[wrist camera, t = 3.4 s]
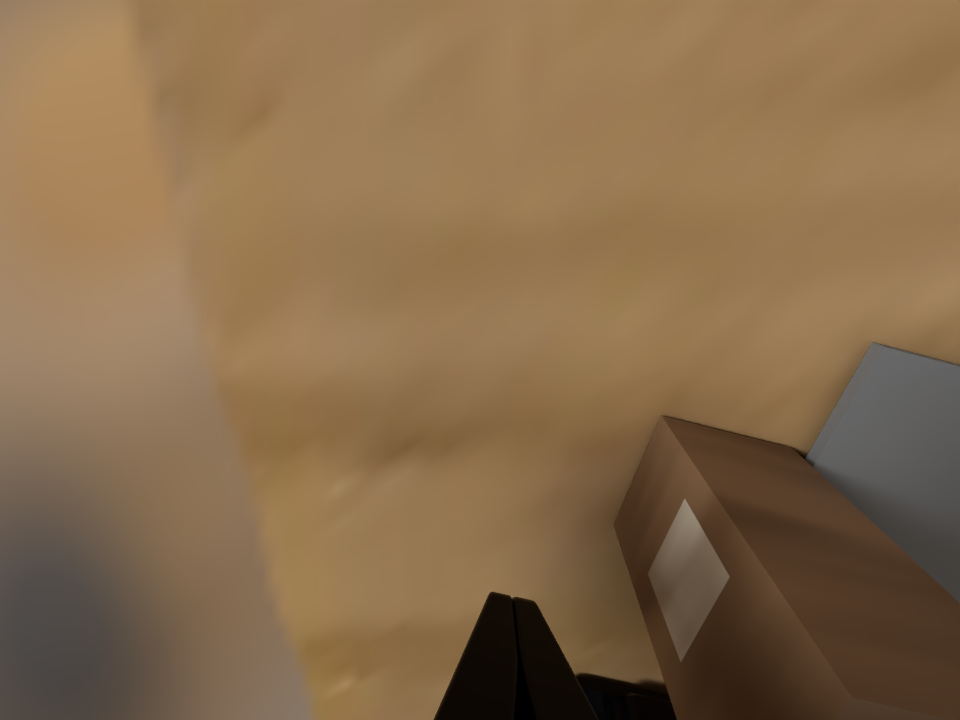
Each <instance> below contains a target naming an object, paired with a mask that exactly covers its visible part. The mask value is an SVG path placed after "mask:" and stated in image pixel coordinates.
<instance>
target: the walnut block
mask: <svg viewBox="0 0 960 720" xmlns="http://www.w3.org/2000/svg"><path fill="white" fill-rule="evenodd" d="M614 528H615V531H616V534H617V537H618V540H619V543H620V546H621V549H622V552H623V555H624V558H625V561H626V564H627V568H628V571H629V574H630V577H631V580H632V583H633V586H634V589H635V592H636V595H637V598H638V601H639V604H640V607H641V611H642V614H643V617H644V620H645V623H646V626H647V629H648V632H649V635H650V638H651V641H652V644H653V647H654V651H655V654H656V657H657V660H658V663H659V666H660V669H661V672H662V675H663V678H664V681H665V684H666V687H667V691H668V694H669V697H670V700H671V703H672V706H673V709H674V712H675V715H676V718H677V720H960V603H959V602H958V601H957V600H956V599H955V598H954V597H953V596H952V595H951V594H950V593H948V592H947V591H946V590H945V589H944V588H943V587H942V586H941V585H940V584H939V583H938V582H937V581H935V580H934V579H933V578H932V577H931V576H930V575H929V574H928V573H927V572H926V571H925V570H924V569H922V568H921V567H920V566H919V565H918V564H917V563H916V562H915V561H914V560H913V559H912V558H911V557H909V556H908V555H907V554H906V553H905V552H904V551H903V550H902V549H901V548H900V547H899V546H898V545H897V544H895V543H894V542H893V541H892V540H891V539H890V538H889V537H888V536H887V535H886V534H885V533H884V532H882V531H881V530H880V529H879V528H878V527H877V526H876V525H875V524H874V523H873V522H872V521H871V520H869V519H868V518H867V517H866V516H865V515H864V514H863V513H862V512H861V511H860V510H859V509H858V508H856V507H855V506H854V505H853V504H852V503H851V502H850V501H849V500H848V499H847V498H846V497H845V496H843V495H842V494H841V493H840V492H839V491H838V490H837V489H836V488H835V487H834V486H833V485H832V484H830V483H829V482H828V481H827V480H826V479H825V478H824V477H823V476H822V475H821V474H820V473H819V472H817V471H816V470H815V469H814V468H813V467H812V466H811V465H810V464H809V463H808V462H807V461H806V460H804V459H803V458H802V457H801V456H800V455H799V454H798V453H797V452H796V451H795V450H794V449H793V448H791V447H787V446H783V445H779V444H775V443H771V442H767V441H763V440H759V439H754V438H750V437H746V436H742V435H738V434H734V433H730V432H726V431H722V430H718V429H714V428H710V427H706V426H702V425H698V424H694V423H690V422H686V421H682V420H678V419H674V418H670V417H666V416H662V415H661V416H660V419H659V421H658V423H657V426H656V428H655V430H654V433H653V435H652V437H651V439H650V442H649V444H648V446H647V449H646V451H645V453H644V456H643V458H642V460H641V462H640V465H639V467H638V469H637V472H636V474H635V476H634V479H633V481H632V483H631V485H630V488H629V490H628V492H627V495H626V497H625V499H624V502H623V504H622V506H621V508H620V511H619V513H618V515H617V518H616V520H615V522H614Z"/></svg>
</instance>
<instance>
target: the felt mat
mask: <svg viewBox="0 0 960 720" xmlns="http://www.w3.org/2000/svg"><path fill="white" fill-rule="evenodd" d="M805 460H806V461H807V462H808V463H809V464H810V465H811V466H812V467H813V468H814V469H815V470H816V471H817V472H819V473H820V474H821V475H822V476H823V477H824V478H825V479H826V480H827V481H828V482H829V483H830V484H832V485H833V486H834V487H835V488H836V489H837V490H838V491H839V492H840V493H841V494H842V495H843V496H845V497H846V498H847V499H848V500H849V501H850V502H851V503H852V504H853V505H854V506H855V507H856V508H858V509H859V510H860V511H861V512H862V513H863V514H864V515H865V516H866V517H867V518H868V519H869V520H871V521H872V522H873V523H874V524H875V525H876V526H877V527H878V528H879V529H880V530H881V531H882V532H884V533H885V534H886V535H887V536H888V537H889V538H890V539H891V540H892V541H893V542H894V543H895V544H897V545H898V546H899V547H900V548H901V549H902V550H903V551H904V552H905V553H906V554H907V555H908V556H909V557H911V558H912V559H913V560H914V561H915V562H916V563H917V564H918V565H919V566H920V567H921V568H922V569H924V570H925V571H926V572H927V573H928V574H929V575H930V576H931V577H932V578H933V579H934V580H935V581H937V582H938V583H939V584H940V585H941V586H942V587H943V588H944V589H945V590H946V591H947V592H948V593H950V594H951V595H952V596H953V597H954V598H955V599H956V600H957V601H958V602H959V603H960V365H959V364H955V363H951V362H947V361H944V360H940V359H936V358H932V357H928V356H924V355H921V354H917V353H913V352H909V351H905V350H901V349H898V348H894V347H890V346H886V345H882V344H878V343H875V342H872V344H871V346H870V347H869V349H868V351H867V352H866V354H865V356H864V358H863V359H862V361H861V363H860V365H859V366H858V368H857V370H856V372H855V373H854V375H853V377H852V378H851V380H850V382H849V384H848V385H847V387H846V389H845V391H844V392H843V394H842V396H841V397H840V399H839V401H838V403H837V404H836V406H835V408H834V410H833V411H832V413H831V415H830V417H829V418H828V420H827V422H826V423H825V425H824V427H823V429H822V430H821V432H820V434H819V436H818V437H817V439H816V441H815V442H814V444H813V446H812V448H811V449H810V451H809V453H808V455H807V456H806V458H805Z"/></svg>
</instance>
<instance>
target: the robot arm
mask: <svg viewBox="0 0 960 720" xmlns="http://www.w3.org/2000/svg"><path fill="white" fill-rule="evenodd" d="M434 720H677V718H676V715H675V712H674V709H673V706H672V703H671V700H670V697H669V696H666V695H662V694H657V693H652V692H648V691H643V690H639V689H634V688H629V687H625V686H620V685H616V684H611V683H607V682H602V681H597V680H593V679H588V678H584V677H577V678H576V676H575V675H574V673H573V671H572V669H571V667H570V665H569V663H568V662H567V660H566V658H565V656H564V654H563V652H562V650H561V649H560V647H559V645H558V643H557V641H556V639H555V637H554V635H553V634H552V632H551V630H550V628H549V626H548V624H547V622H546V621H545V619H544V617H543V615H542V613H541V611H540V609H539V608H538V606H537V604H536V603H535V602H534V601H532V600H528V599H524V598H519V597H514V598H511V597H510V596H509V595H505V594H501V593H496V592H491V593H489V595H488V597H487V600H486V602H485V604H484V606H483V609H482V611H481V613H480V616H479V618H478V620H477V622H476V625H475V627H474V629H473V631H472V634H471V636H470V638H469V640H468V643H467V645H466V647H465V650H464V652H463V654H462V656H461V659H460V661H459V663H458V665H457V668H456V670H455V672H454V675H453V677H452V679H451V681H450V684H449V686H448V688H447V690H446V693H445V695H444V697H443V700H442V702H441V704H440V706H439V709H438V711H437V713H436V715H435V718H434Z"/></svg>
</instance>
